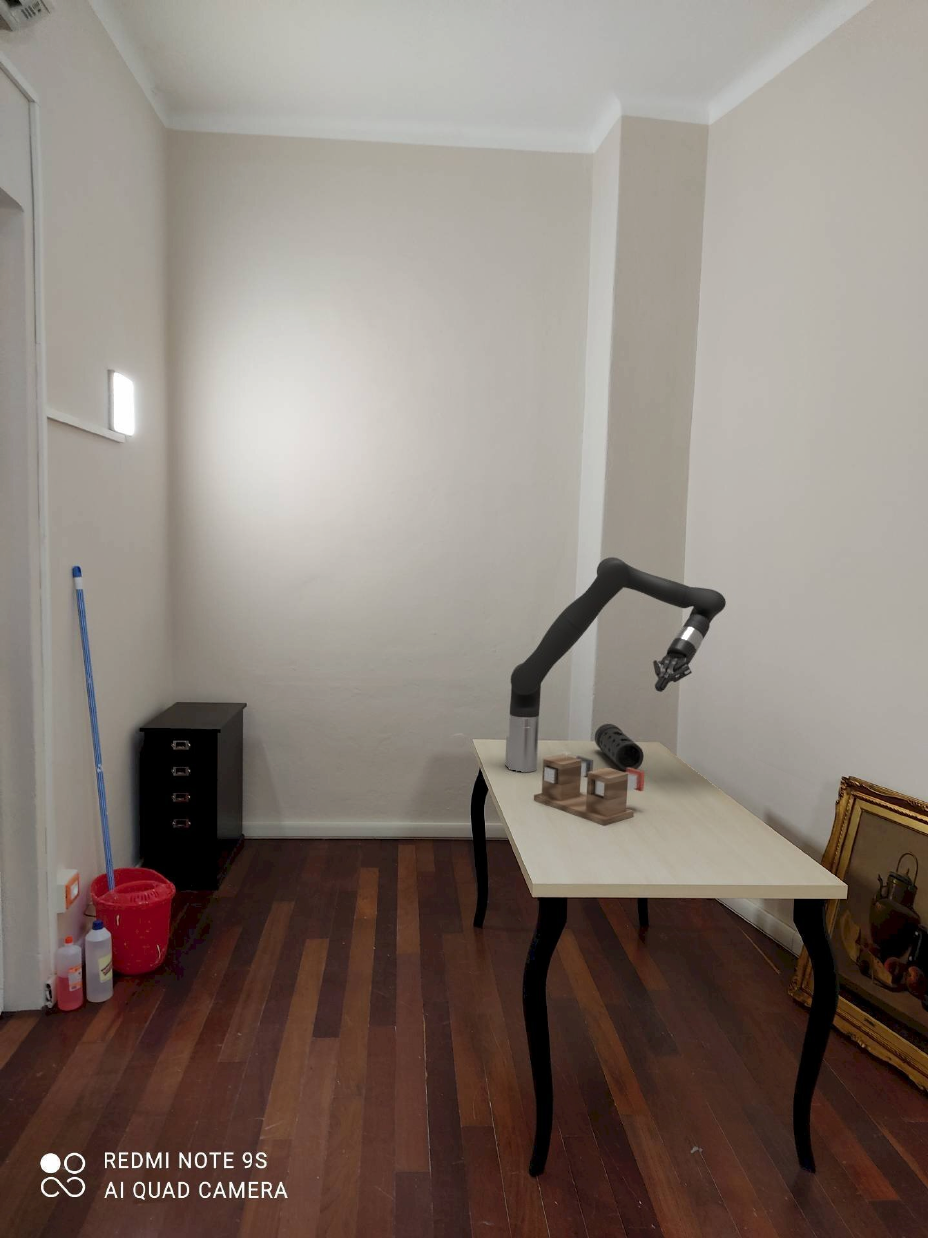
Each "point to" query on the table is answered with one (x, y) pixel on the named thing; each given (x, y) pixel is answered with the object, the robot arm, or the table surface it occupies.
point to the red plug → (633, 781)
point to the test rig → (590, 805)
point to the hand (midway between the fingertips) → (658, 689)
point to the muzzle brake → (619, 747)
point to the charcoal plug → (552, 772)
